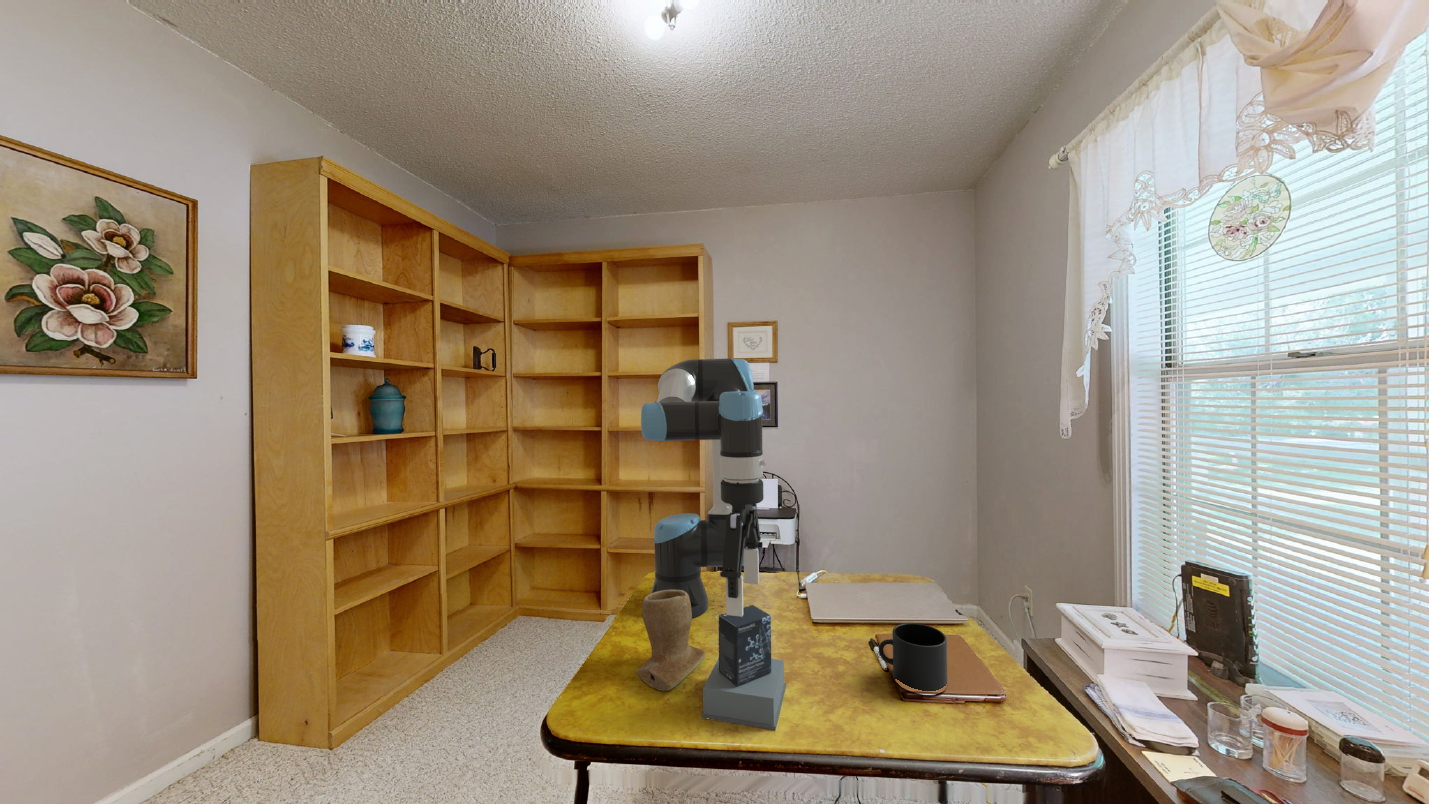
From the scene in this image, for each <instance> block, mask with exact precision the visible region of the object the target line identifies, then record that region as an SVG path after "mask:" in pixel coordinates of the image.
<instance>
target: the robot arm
mask: <svg viewBox="0 0 1429 804" xmlns="http://www.w3.org/2000/svg"><path fill="white" fill-rule="evenodd" d="M754 388H755V385H754V380H753V374H752V370H751V367H750V364H749V362H748V361H747V360H745V359H743V358H732V357H729V358H707V359H706V358H705V359H703V358H701V359H699V358H692V359H687V360H683V361H679V362H677V363H675V364H673V365H671V366H670V367H669V368H667V369H666V370H664V372H662V374H661V375H660V378H659V380H658V383H657V391H658V397H657V401H654V402H653V401H652V402H645V403H643V405H642V406H641V412H640V425H641V427H640V428H641V435H642V438H643V439H644V440H645V441H648V442H652V441H653V442H660V443H661V442H673V441H674V442H677V441H711V444H712V445H711V451H712V452H711V453H712V455H711V456H712V457H711V458H712V491H713V492H712V495H713V499H712V500H713V506H712V507H711V509H710V510H708V511H707V519H701V517H700V515H699V514H698V513H690V512H683V513H678V514H677V513H676V514H673V515H669V516H667V517H666V516H665V517H664V518H662V519H660V520H659V521H658V522H656V524H655V526H654V532H653V533H654V538H653V543H654V581H653V585H652V588H651V592H650V594H651V593H654V592H657V591H663V590H683V591H685V592H687V594H688V595H689V598H690V603H691V611H692V619H694V618H697V617H699V616H701V615H703V614H705V613H706V611H708V608H709V597H708V594H707V591H706V589H705V586H704V583H703V579H702V577H701V575H702V574H701V568H714V567H715V568H716V567H720V568H721V571H720V573H719V576H720V577H721V578H725V608H726V610H725V611H726V612H725V613H726V615H732V616H741V617H742V616H743V608H744V584H749V585H750V584H751V585H759V583H760V573H759V572H760V571H759V570H760V569H759V567H760V565H759V563H760V561H759V549H762V548H763V546H764V545H763V542H762V541H761V540H762V537H761V532H760V521H759V518H758V517H759V515H758V510H757V509H758V506H757V505H758V504H759V503H762V501H763V500H764V498H765V497H764V480H762V479H761V478H762V477H763V476H764V474H763V473H764V467H765V466H766V465H767V461H766V460H763V456H764V455H763V453H764V451H763V414H764V408H763V404H762V403H763V401H762V400H763V399H762V395H761V393H760V392H758V391H754ZM742 568H743V575H742Z"/></svg>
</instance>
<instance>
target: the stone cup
mask: <svg viewBox="0 0 1429 804" xmlns="http://www.w3.org/2000/svg"><path fill="white" fill-rule="evenodd" d="M641 605H642V606H641V607H642V610H641V611H642V621H643V625H644V628H645V629H646V633H647V636H648V640H649V642H650V648H651V654H650V655H651V656H650V657H649V658H648V659H647V660H646V661H645V662H644V663H643V664H642V665H641V666H640V667H639V668H638V669H636V675H637V676H638V677H640V679H642V681H643V683H644V682H645V683H646V684H647V686H650V687H651V688H653V689H655V690H658V691H662V692H665V691H666V692H668V691H671V690H672V689H673V688H676V686H678V685H679V684H681V682H682V681H683V680H685V679H686V678H687V677H688V676H689V675H690V674H691V673H693V671H694V670H696V668H698V666H699V665H700V664H701V663H703V661H704V659H705V658H706V656H707V655H706V651H705V650H702V649H700V648H699V647H695V646H692V645H690V644H689V638H690V631H691V626H692V619H693V618H692V611H691V603H690V598H689V595H688V594H687V592H685V591H683V590H663V591H657V592H654V593H651V592H650V593H649V594H648V595H646V596H645V597H644V598H643V601H642V604H641Z"/></svg>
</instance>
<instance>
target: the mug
mask: <svg viewBox="0 0 1429 804" xmlns="http://www.w3.org/2000/svg"><path fill="white" fill-rule="evenodd" d="M887 645H891V646H892V657H888V656H887V655H886V653H884V648H885V646H887ZM878 654H879V656H880V658H881V659H882V660H883V661H884V662H886V663H887V664H889V665H891V666H892V677H893V680H894V681H895V679H897V680H899V681H900V682H902V683H903V684H905V685H907V686H909V687H911V688H914V689H918V690H922V691H936V690H939V689H941V688H943V687H944V686H946V684H947V685H948V639H947V636H946V635H945V633H944V632H942V631H941V630H940V629H938V628H935V627H933V626H930V625H927V624H923V623H916V622H915V623H914V622H905V623H899V624H897V625H895V626H894V627H893V629H892V638H890V639H887V638H886V639H884V640H882V641H881V642H880V644H879V646H878Z"/></svg>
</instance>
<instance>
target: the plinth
mask: <svg viewBox="0 0 1429 804" xmlns="http://www.w3.org/2000/svg"><path fill="white" fill-rule="evenodd" d="M786 688H787V683H786V682H785V660H783V659H776V658H771V673H769V674H766V675H764V676H761V677H759V678H756V679H754V680H751V681H749V682H746V683H744V684H741V685H739V686H737V687H735V686H734V685H733V684H732V683H731V682H730V681H728V680H727V679H726V678H725V677H724V676H723V675H721V674H720V673H719V657H718V658H717V660H716V662H715V663H714V666H713V668H712V670H711V672H710V674H709V675H708V678H707V680H706V681H705V683H704V685H703V687H702V693H703V694H702V701H703V703H702V704H703V706H702V708H703V710H702V712H701V714H700V715H701V717H702V718H701V719H705V718H709V719H708V720H711V719H713V720H712V721H718V722H724V723H729V724H735V725H741V726H747V727H752V728H753V727H754V728H759V729H760V728H761V729H767V730H771V731H776V729H777V725H778V721H779V717H780V713H781V709H782V705H783V701H784V696H785V693H786Z"/></svg>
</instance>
